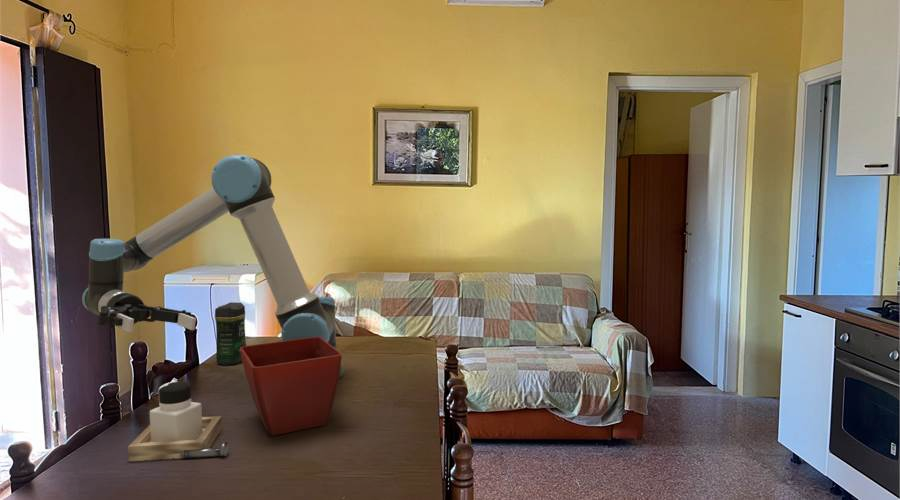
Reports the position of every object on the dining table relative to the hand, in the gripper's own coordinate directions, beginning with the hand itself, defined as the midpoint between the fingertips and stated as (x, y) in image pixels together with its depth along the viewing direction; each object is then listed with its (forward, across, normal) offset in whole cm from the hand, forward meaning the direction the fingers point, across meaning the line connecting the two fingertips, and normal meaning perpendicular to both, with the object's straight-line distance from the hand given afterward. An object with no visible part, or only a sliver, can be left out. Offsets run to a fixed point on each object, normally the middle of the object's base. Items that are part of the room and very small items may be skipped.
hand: (163, 324), depth 127 cm
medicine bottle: (+10, -1, -22) cm, 25 cm away
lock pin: (+20, -1, -23) cm, 31 cm away
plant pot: (+19, -23, -19) cm, 36 cm away
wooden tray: (+11, -1, -23) cm, 26 cm away
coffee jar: (-37, -42, -20) cm, 60 cm away
